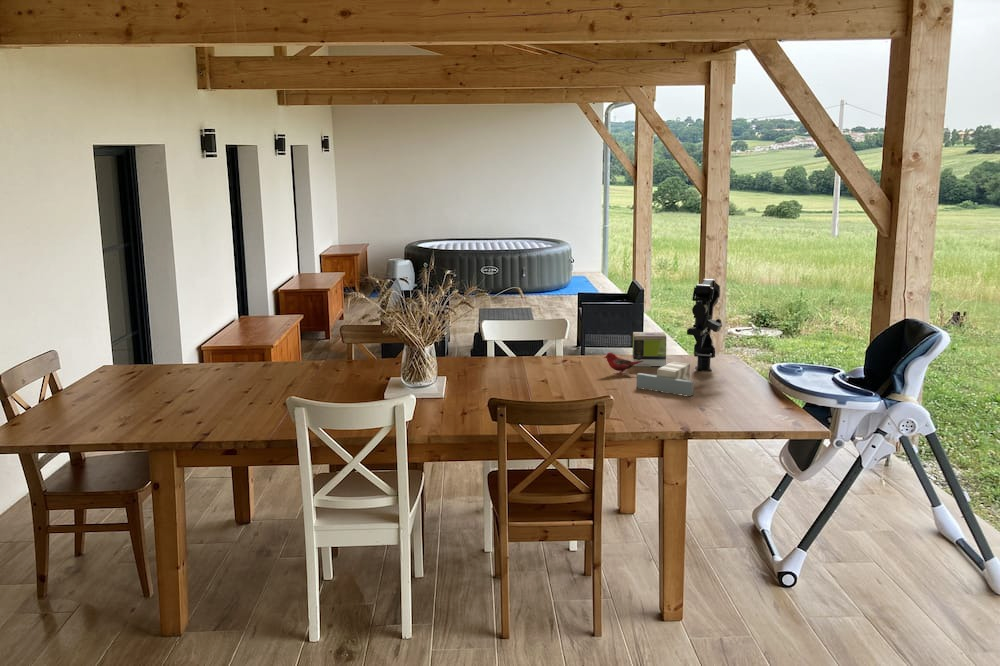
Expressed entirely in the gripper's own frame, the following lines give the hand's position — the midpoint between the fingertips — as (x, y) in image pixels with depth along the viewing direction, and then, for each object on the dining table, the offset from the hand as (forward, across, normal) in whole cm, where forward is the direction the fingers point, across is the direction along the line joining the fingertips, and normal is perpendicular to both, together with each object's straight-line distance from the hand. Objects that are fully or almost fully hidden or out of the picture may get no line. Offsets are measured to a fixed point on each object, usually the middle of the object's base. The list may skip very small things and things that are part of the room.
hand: (700, 348), depth 384 cm
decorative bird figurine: (+13, -15, +30) cm, 36 cm away
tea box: (+13, +8, +28) cm, 32 cm away
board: (+13, -31, +3) cm, 34 cm away
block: (+13, -22, +3) cm, 26 cm away
